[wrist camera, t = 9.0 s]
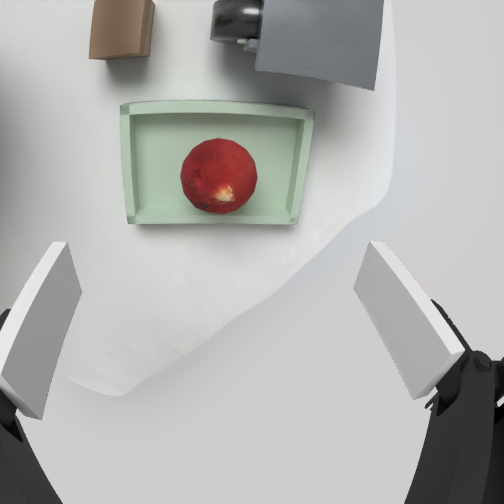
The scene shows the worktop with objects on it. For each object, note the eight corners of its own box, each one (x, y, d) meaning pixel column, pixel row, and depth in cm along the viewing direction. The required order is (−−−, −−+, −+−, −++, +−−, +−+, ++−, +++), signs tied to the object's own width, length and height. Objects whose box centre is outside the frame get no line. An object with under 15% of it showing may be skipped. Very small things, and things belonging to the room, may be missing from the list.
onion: (207, 202, 27) (212, 252, 21) (168, 155, 24) (159, 193, 18) (260, 167, 26) (283, 208, 20) (224, 116, 23) (237, 138, 17)
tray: (133, 211, 27) (127, 223, 25) (127, 102, 22) (119, 105, 19) (290, 212, 30) (297, 224, 28) (306, 107, 24) (315, 111, 22)
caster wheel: (207, 70, 21) (207, 67, 15) (216, -13, 17) (218, -43, 11) (332, 83, 23) (373, 90, 17) (341, 7, 19) (384, -8, 12)
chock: (105, 59, 19) (88, 58, 16) (110, 9, 16) (94, 0, 13) (149, 55, 20) (139, 52, 16) (155, 4, 17) (145, -7, 14)
